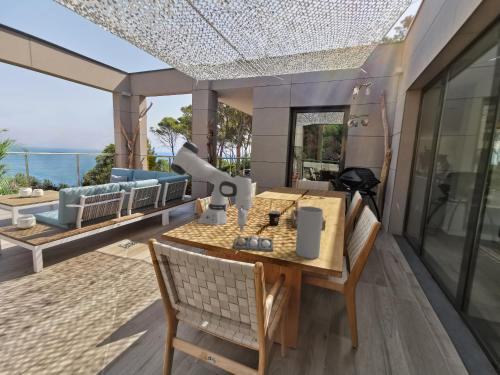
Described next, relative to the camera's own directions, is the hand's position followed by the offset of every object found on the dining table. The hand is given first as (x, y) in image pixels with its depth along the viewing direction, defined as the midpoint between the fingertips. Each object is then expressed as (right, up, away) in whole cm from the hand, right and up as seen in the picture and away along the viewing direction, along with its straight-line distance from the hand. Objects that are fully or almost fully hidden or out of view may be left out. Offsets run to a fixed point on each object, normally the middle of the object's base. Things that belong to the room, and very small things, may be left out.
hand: (242, 228), depth 125 cm
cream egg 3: (+13, -11, 0) cm, 17 cm away
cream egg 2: (+6, -11, +1) cm, 12 cm away
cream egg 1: (+7, -10, +8) cm, 14 cm away
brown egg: (-1, -10, +1) cm, 11 cm away
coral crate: (+48, -5, +48) cm, 68 cm away
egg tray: (+6, -11, +4) cm, 13 cm away
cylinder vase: (+35, -14, -4) cm, 38 cm away
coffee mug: (+21, -6, +43) cm, 48 cm away
